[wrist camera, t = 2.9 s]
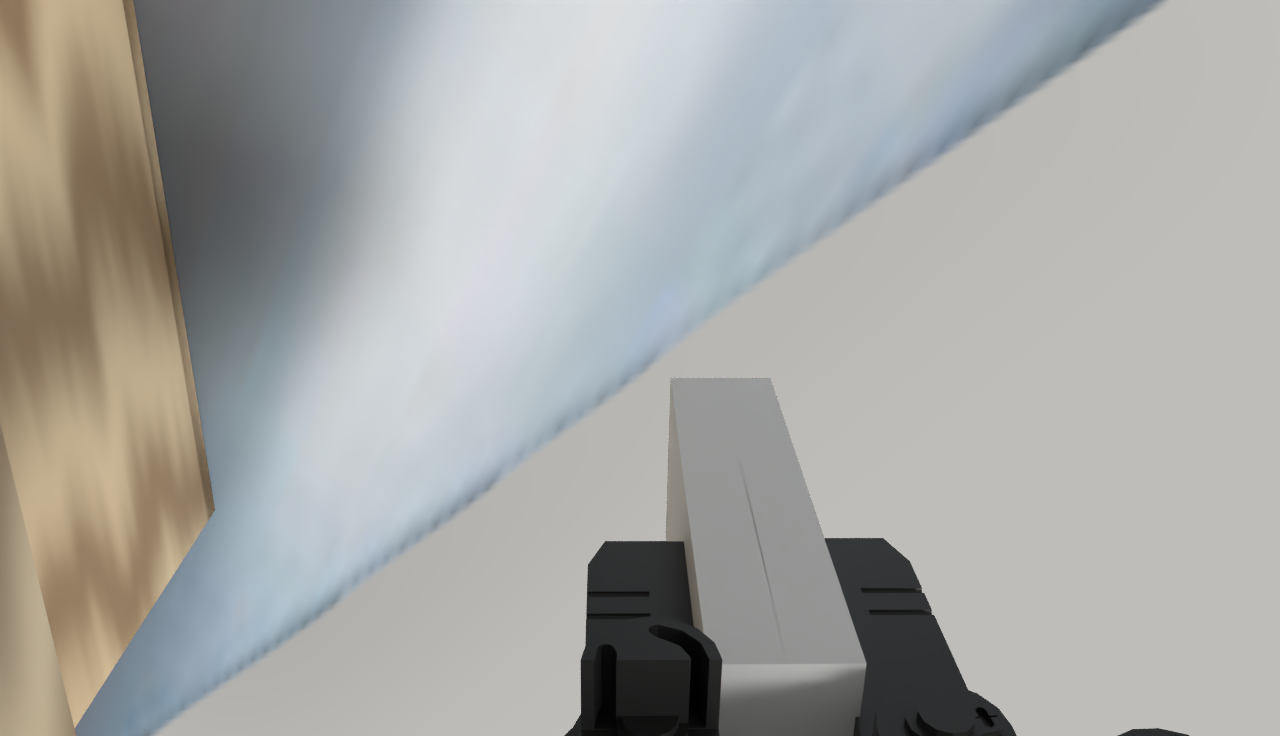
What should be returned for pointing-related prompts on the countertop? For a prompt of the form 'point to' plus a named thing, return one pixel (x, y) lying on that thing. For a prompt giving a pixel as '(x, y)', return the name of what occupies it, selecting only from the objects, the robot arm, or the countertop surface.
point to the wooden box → (92, 332)
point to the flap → (25, 631)
